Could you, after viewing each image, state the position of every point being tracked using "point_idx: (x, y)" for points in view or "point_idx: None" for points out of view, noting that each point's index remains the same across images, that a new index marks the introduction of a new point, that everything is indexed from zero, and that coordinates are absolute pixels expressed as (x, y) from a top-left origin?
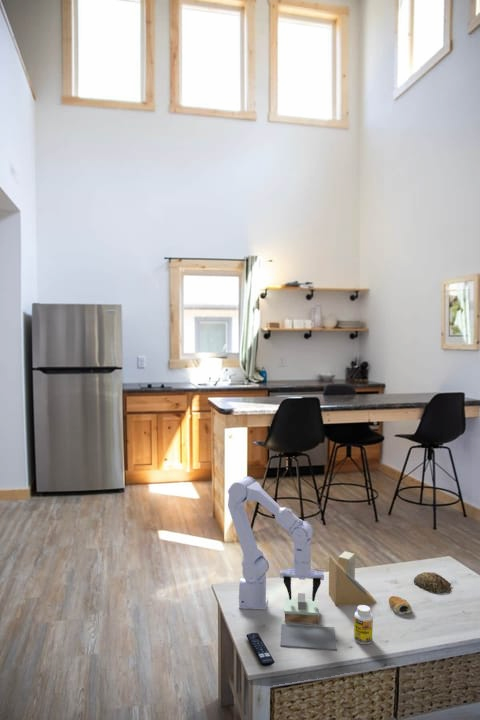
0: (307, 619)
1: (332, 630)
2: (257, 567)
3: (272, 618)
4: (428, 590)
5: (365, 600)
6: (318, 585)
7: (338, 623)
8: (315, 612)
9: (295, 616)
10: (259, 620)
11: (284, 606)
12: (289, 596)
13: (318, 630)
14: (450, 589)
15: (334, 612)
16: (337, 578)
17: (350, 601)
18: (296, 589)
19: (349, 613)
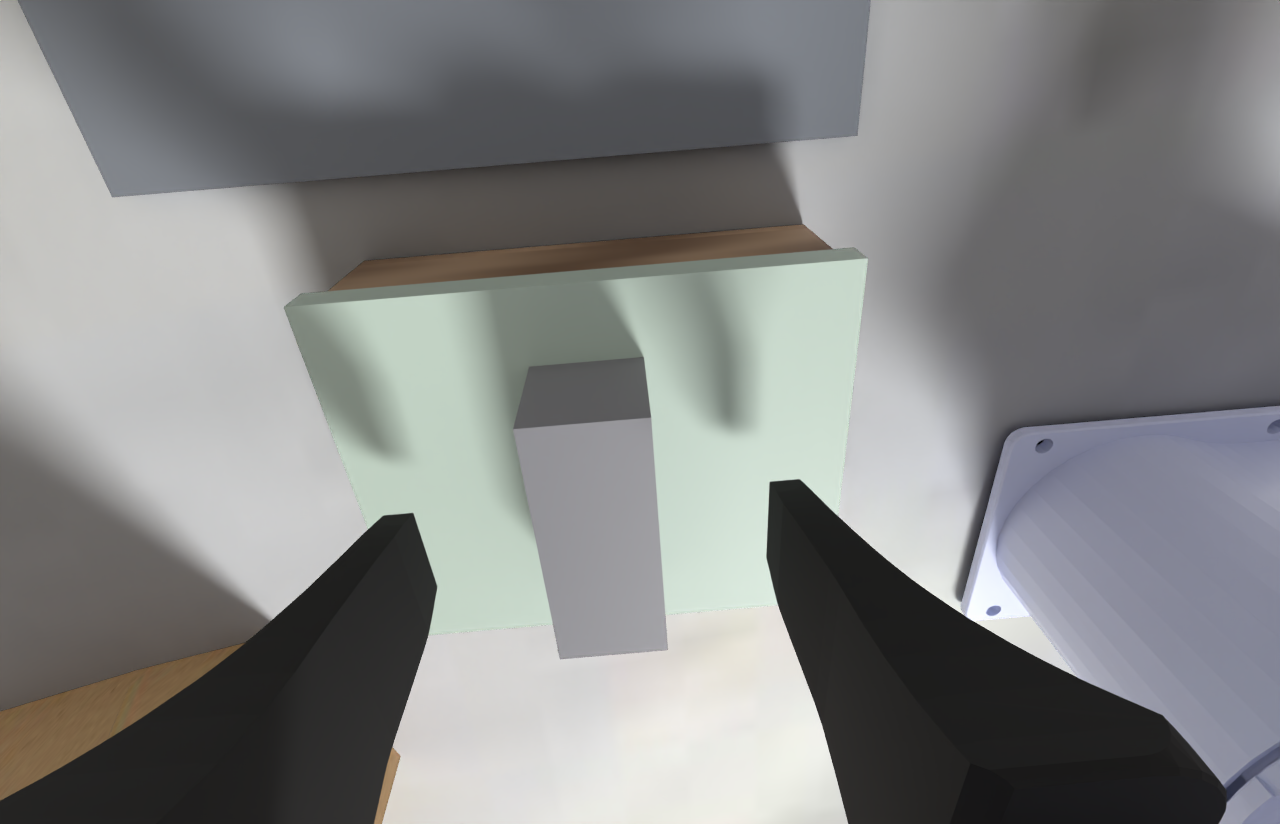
0: (498, 265)
1: (98, 96)
2: None
3: (953, 276)
4: None
5: (1, 734)
6: (1, 816)
7: (124, 328)
8: (348, 314)
9: (670, 257)
10: (1134, 193)
11: (852, 388)
12: (822, 506)
13: (298, 47)
14: None
15: (257, 528)
16: None
17: (131, 697)
18: (683, 765)
19: (96, 541)
